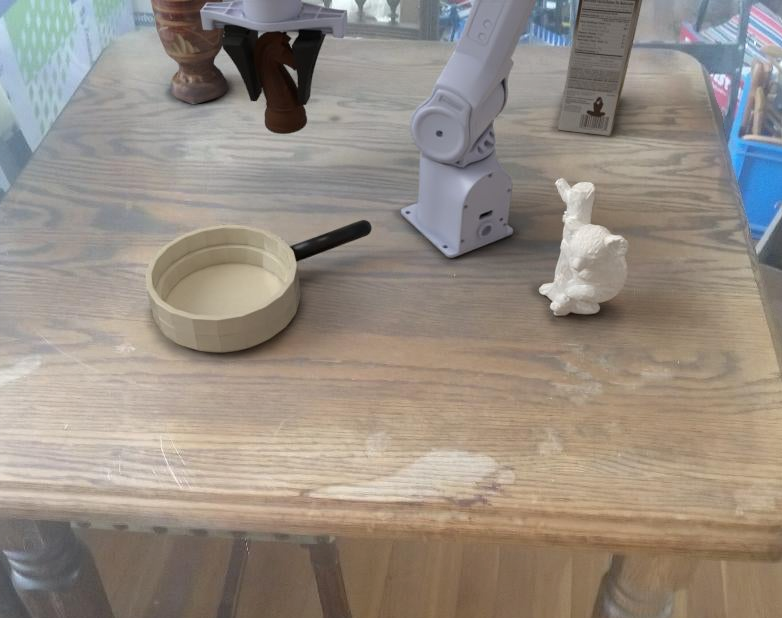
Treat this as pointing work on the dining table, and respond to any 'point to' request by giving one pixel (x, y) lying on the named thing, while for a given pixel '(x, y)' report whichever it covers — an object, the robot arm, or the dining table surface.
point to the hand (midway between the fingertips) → (280, 98)
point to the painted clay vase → (190, 49)
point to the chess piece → (278, 83)
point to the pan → (223, 287)
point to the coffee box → (598, 64)
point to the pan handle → (331, 239)
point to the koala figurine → (585, 257)
